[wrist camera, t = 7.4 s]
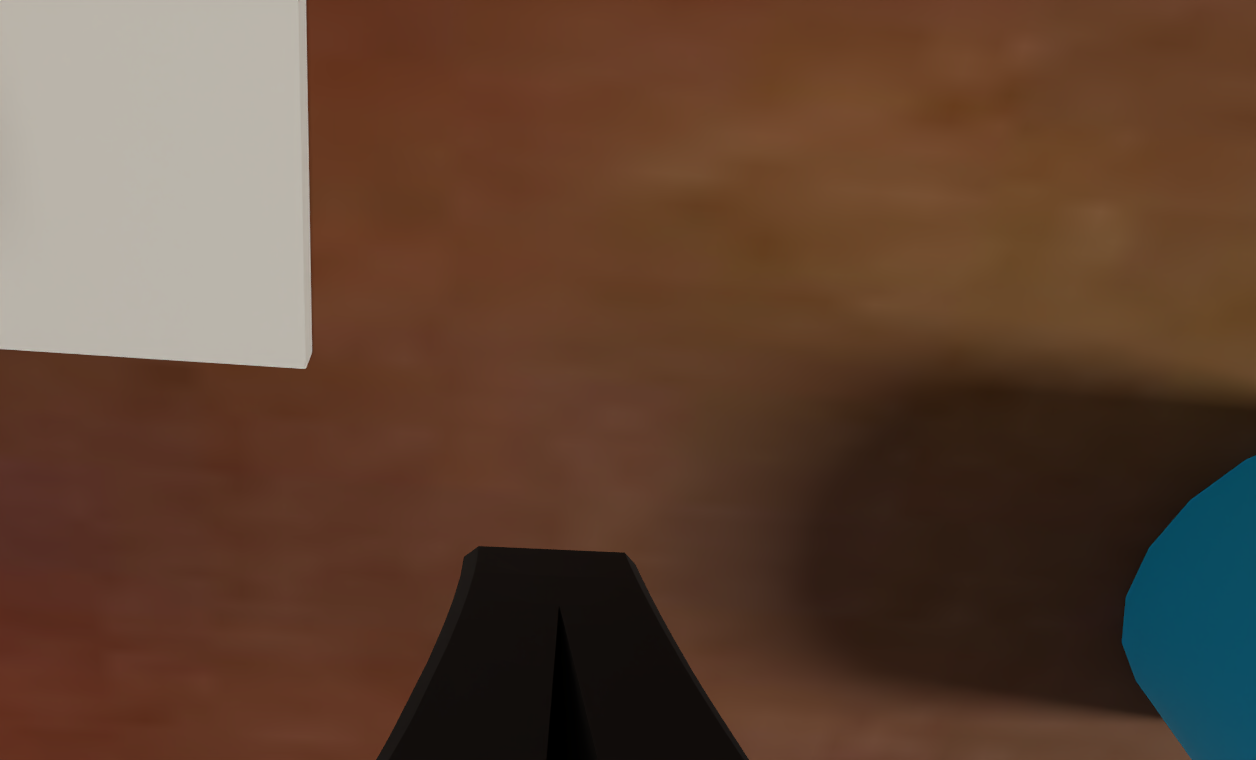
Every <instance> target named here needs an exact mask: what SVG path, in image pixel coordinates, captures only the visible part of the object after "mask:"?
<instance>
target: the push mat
mask: <svg viewBox="0 0 1256 760" xmlns="http://www.w3.org/2000/svg"><path fill="white" fill-rule="evenodd" d="M0 349H9V350H25V351H40V352H55V353H71V354H86V355H101V356H116V357H132V358H147V359H162V360H178V361H193V362H208V363H224V364H239V365H254V366H270V367H285V368H300V369H306V367H307V364H308V362H309V359H310V357H311V354H312V319H311V262H310V204H309V147H308V90H307V33H306V0H0Z"/></svg>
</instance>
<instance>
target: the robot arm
mask: <svg viewBox="0 0 1256 760" xmlns="http://www.w3.org/2000/svg"><path fill="white" fill-rule="evenodd" d="M376 760H749V759H748V758H747V756H746V755H745V753H744V752H743V750H742V748H741V747H740V745H739V744H738V742H737V741H736V739H735V738H734V736H733V735H732V733H731V731H730V730H729V728H728V727H727V725H726V724H725V722H724V721H723V719H722V718H721V716H720V715H719V713H718V711H717V710H716V708H715V707H714V705H713V704H712V702H711V701H710V699H709V698H708V696H707V694H706V693H705V691H704V689H703V688H702V686H701V684H700V683H699V681H698V680H697V678H696V676H695V675H694V673H693V671H692V670H691V668H690V666H689V665H688V663H687V661H686V659H685V658H684V656H683V654H682V652H681V651H680V649H679V647H678V645H677V644H676V642H675V640H674V638H673V637H672V635H671V633H670V631H669V630H668V628H667V626H666V624H665V622H664V620H663V619H662V617H661V615H660V613H659V611H658V609H657V607H656V605H655V603H654V602H653V600H652V598H651V596H650V594H649V592H648V590H647V588H646V586H645V584H644V582H643V580H642V578H641V576H640V573H639V571H638V569H637V567H636V565H635V564H634V563H633V561H632V560H631V559H630V558H629V557H628V556H627V555H626V554H625V553H619V552H596V551H574V550H551V549H529V548H506V547H483V546H478V547H477V548H476V549H474V550H473V551H472V552H470V553H469V554H467V555H466V556H465V557H464V560H463V566H462V571H461V576H460V580H459V583H458V586H457V589H456V593H455V596H454V599H453V602H452V605H451V607H450V610H449V613H448V615H447V618H446V620H445V623H444V625H443V628H442V630H441V632H440V635H439V637H438V639H437V642H436V644H435V646H434V648H433V651H432V653H431V655H430V658H429V660H428V662H427V664H426V666H425V668H424V670H423V672H422V674H421V676H420V678H419V680H418V682H417V684H416V686H415V688H414V690H413V692H412V694H411V696H410V698H409V700H408V702H407V704H406V706H405V708H404V709H403V711H402V713H401V715H400V717H399V719H398V721H397V723H396V725H395V727H394V729H393V731H392V733H391V735H390V736H389V738H388V740H387V742H386V744H385V746H384V747H383V749H382V751H381V753H380V754H379V756H378V758H377V759H376Z"/></svg>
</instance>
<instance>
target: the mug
mask: <svg viewBox="0 0 1256 760" xmlns="http://www.w3.org/2000/svg"><path fill="white" fill-rule="evenodd" d="M1122 645H1123V647H1124V650H1125V653H1126V656H1127V658H1128V661H1129V664H1130V666H1131V669H1132V672H1133V675H1134V677H1135V680H1136V682H1137V683H1138V684H1139V686H1140V687H1141V689H1142V690H1143V691H1144V693H1145V694H1146V696H1147V697H1148V699H1149V700H1150V701H1151V703H1152V704H1153V706H1154V707H1155V708H1156V710H1157V711H1158V713H1159V714H1160V715H1161V717H1162V718H1163V720H1164V721H1165V722H1166V724H1167V725H1168V727H1169V728H1170V730H1171V731H1172V732H1173V734H1174V735H1175V737H1176V738H1177V739H1178V741H1179V742H1180V744H1181V745H1182V746H1183V748H1184V749H1185V751H1186V752H1187V754H1188V755H1189V756H1190V758H1191V759H1192V760H1256V455H1255V456H1253V457H1251V458H1248V459H1246V460H1244V461H1243V462H1242V463H1240V464H1239V465H1238V466H1236V467H1235V468H1233V469H1232V470H1231V471H1229V472H1228V473H1227V474H1225V475H1224V476H1223V477H1221V478H1220V479H1218V480H1217V481H1216V482H1214V483H1213V484H1212V485H1210V486H1209V487H1207V488H1206V489H1205V490H1203V491H1202V492H1201V493H1199V494H1198V495H1197V496H1195V497H1194V498H1192V499H1191V500H1190V501H1189V502H1188V503H1187V504H1186V505H1185V507H1184V508H1183V509H1182V510H1181V511H1180V512H1179V514H1178V515H1177V516H1176V517H1175V518H1174V519H1173V521H1172V522H1171V523H1170V524H1169V525H1168V526H1167V528H1166V529H1165V530H1164V531H1163V532H1162V533H1161V534H1160V536H1159V537H1158V538H1157V539H1156V540H1155V541H1154V543H1153V544H1152V545H1151V546H1150V547H1149V549H1148V551H1147V553H1146V555H1145V557H1144V559H1143V562H1142V564H1141V566H1140V568H1139V570H1138V572H1137V574H1136V576H1135V579H1134V581H1133V583H1132V585H1131V587H1130V589H1129V591H1128V593H1127V596H1126V600H1125V611H1124V623H1123V634H1122Z"/></svg>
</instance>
